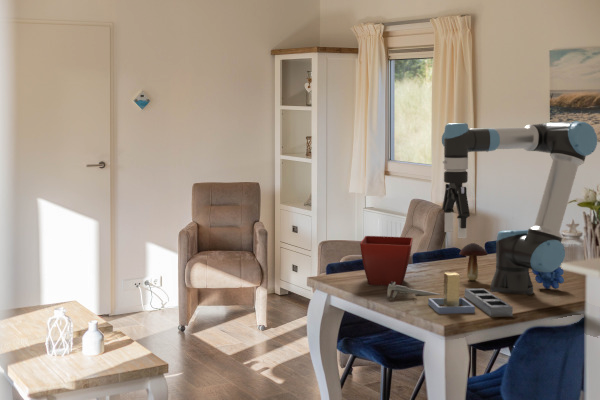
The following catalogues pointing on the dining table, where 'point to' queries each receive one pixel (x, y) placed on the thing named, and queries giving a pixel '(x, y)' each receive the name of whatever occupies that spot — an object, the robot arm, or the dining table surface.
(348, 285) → the dining table surface
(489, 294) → the socket rail
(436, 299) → the tray
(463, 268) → the dining table surface
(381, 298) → the dining table surface
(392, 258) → the plant pot
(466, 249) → the decorative mushroom
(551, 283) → the grapes
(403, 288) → the caliper
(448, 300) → the brass peg
